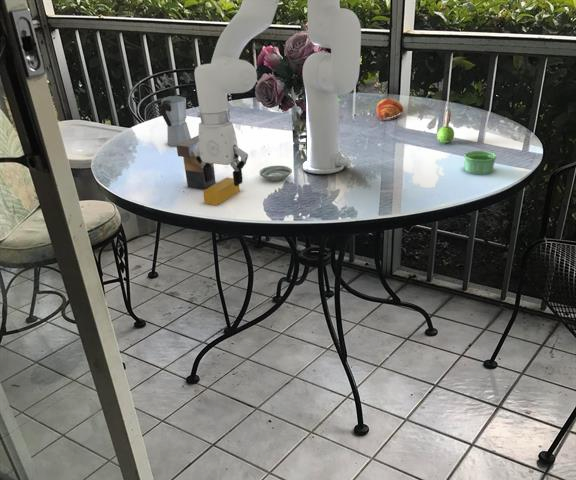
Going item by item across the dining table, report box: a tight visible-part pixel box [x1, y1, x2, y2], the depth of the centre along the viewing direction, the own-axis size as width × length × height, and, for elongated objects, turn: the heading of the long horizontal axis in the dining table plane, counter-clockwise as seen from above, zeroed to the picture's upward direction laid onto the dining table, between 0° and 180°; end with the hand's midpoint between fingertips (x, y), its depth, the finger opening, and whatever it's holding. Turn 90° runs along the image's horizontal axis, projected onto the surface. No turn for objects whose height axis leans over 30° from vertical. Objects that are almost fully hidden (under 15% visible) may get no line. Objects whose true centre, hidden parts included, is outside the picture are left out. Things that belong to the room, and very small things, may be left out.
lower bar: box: [175, 134, 199, 158], centre depth 173 cm, size 13×4×3 cm, turn 152°
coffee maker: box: [160, 87, 192, 148], centre depth 211 cm, size 15×9×18 cm, turn 161°
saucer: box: [258, 165, 293, 182], centre depth 181 cm, size 10×10×2 cm
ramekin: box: [463, 150, 497, 175], centre depth 179 cm, size 9×9×4 cm
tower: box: [182, 155, 217, 191], centre depth 177 cm, size 6×6×10 cm
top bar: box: [202, 177, 241, 206], centre depth 170 cm, size 12×4×4 cm, turn 152°
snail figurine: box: [436, 106, 455, 145], centre depth 199 cm, size 5×6×12 cm
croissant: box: [375, 97, 404, 121], centre depth 233 cm, size 21×10×8 cm, turn 159°
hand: (223, 182), depth 169 cm, fingers open, 9 cm apart
